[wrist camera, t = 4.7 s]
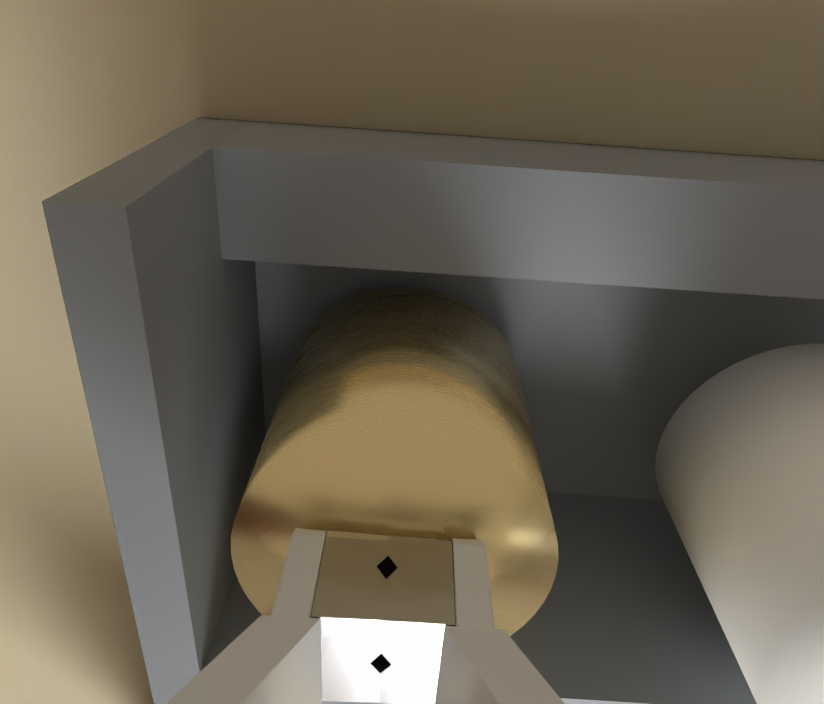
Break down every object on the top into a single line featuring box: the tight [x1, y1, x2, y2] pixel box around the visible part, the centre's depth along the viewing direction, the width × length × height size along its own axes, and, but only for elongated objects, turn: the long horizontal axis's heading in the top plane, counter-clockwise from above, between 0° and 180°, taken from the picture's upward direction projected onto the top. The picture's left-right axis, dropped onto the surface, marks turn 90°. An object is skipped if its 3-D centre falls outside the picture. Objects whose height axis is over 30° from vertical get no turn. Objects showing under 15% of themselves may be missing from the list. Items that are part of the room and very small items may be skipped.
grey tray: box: [42, 118, 824, 704], centre depth 13 cm, size 25×11×6 cm, turn 86°
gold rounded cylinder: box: [231, 288, 558, 636], centre depth 12 cm, size 5×5×5 cm
